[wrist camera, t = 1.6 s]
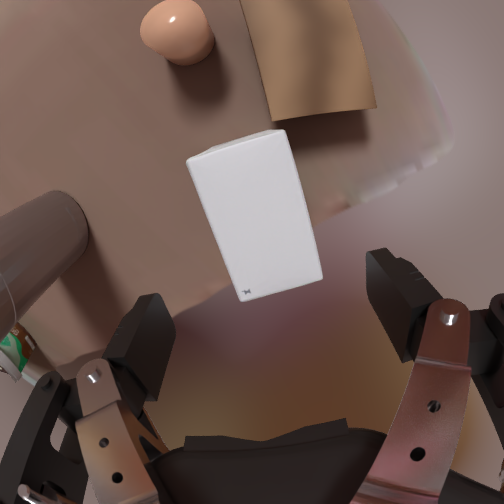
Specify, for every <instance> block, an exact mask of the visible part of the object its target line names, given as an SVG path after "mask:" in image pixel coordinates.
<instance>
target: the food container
mask: <svg viewBox="0 0 504 504" xmlns="http://www.w3.org/2000/svg"><path fill="white" fill-rule="evenodd" d="M35 347H36V343H35V341H34V339H33V338H32V337H31V335H30V334H29V333H28V332H27V330H26V329H25V328H24V327H23V326H22V325H20V324H19V323H18V322H17V323H16V324H15V326H14V327H13V328H12V330H11V331H10V332H9V333H8V334H7V336H6V337H5V338H4V339H3V341H2V342H1V343H0V371H1V372H5V373H7V374H9V375H10V376H11V377H12V379H13V380H14V381H15V383H16V382H17V380H19V379H20V378H21V377H22V374H21V372H22V370H23V368H24V366H25V364H26V363H27V361H28V359H29V357H30V355H31V354H32V352H33V350H34V348H35Z"/></svg>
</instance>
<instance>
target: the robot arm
mask: <svg viewBox="0 0 504 504" xmlns="http://www.w3.org/2000/svg"><path fill="white" fill-rule="evenodd" d="M87 243H88V227H87V223H86V219H85V216H84V214H83V212H82V210H81V208H80V207H79V205H78V204H77V203H76V202H75V201H74V200H73V198H71V197H70V196H69V195H67V194H65V193H63V192H60V191H51V192H48V193H46V194H44V195H42V196H39V197H37V198H35V199H33V200H31V201H29V202H27V203H25V204H23V205H21V206H19V207H18V208H16V209H14V210H12V211H10V212H8V213H7V214H5V215H3V216H1V217H0V343H1V342H2V341H3V339H4V338H5V337H6V336H7V334H8V333H9V332H10V331H11V330H12V328H13V327H14V326H15V324H16V323H17V322H18V321H19V320H20V319H21V317H22V316H23V315H24V314H25V313H26V312H27V311H28V309H29V308H30V307H31V306H32V305H33V304H34V303H35V302H36V301H37V300H38V298H39V297H40V296H41V295H42V294H43V293H44V292H45V291H46V290H47V289H48V288H49V287H50V286H51V285H52V284H53V283H54V282H55V281H56V280H57V279H58V278H59V277H60V276H61V275H62V274H63V273H64V272H65V271H66V270H67V269H68V268H69V267H70V266H71V265H72V264H73V263H74V262H75V261H76V260H77V259H78V258H79V257H80V256H81V255H82V254H83V253H84V251H85V249H86V247H87ZM366 289H367V295H368V299H369V301H370V303H371V305H372V307H373V309H374V311H375V312H376V314H377V316H378V318H379V320H380V321H381V323H382V325H383V327H384V329H385V331H386V333H387V334H388V336H389V338H390V340H391V342H392V344H393V346H394V348H395V350H396V352H397V354H398V356H399V358H400V360H401V362H402V363H404V362H407V361H410V360H413V361H414V366H413V369H412V372H411V375H410V378H409V381H408V385H407V387H406V390H405V393H404V395H403V398H402V401H401V404H400V406H399V409H398V411H397V414H396V416H395V419H394V421H393V423H392V426H391V428H390V430H389V432H388V435H387V434H385V433H382V432H378V431H375V430H371V429H365V428H348V426H347V422H346V418H343V419H339V420H335V421H330V422H326V423H321V424H316V425H311V426H306V427H303V428H300V429H298V430H295V431H292V432H290V433H287V434H284V435H282V436H279V437H276V438H273V439H270V440H267V441H261V442H260V441H252V440H245V439H239V438H232V437H227V436H186V437H185V443H184V447H180V448H177V449H173V450H171V451H170V450H169V449H168V448H167V446H166V445H165V443H164V442H163V440H162V438H161V436H160V435H159V433H158V431H157V429H156V428H155V426H154V424H153V422H152V420H151V418H150V416H149V415H148V412H147V411H146V410H145V408H144V407H143V405H144V402H145V401H157V399H158V395H159V392H160V388H161V385H162V381H163V378H164V374H165V371H166V367H167V364H168V361H169V357H170V354H171V351H172V348H173V344H174V341H175V338H176V329H175V325H174V322H173V320H172V318H171V316H170V314H169V312H168V310H167V308H166V305H165V303H164V301H163V299H162V297H161V295H160V294H158V293H154V294H148V295H142V296H140V297H139V298H138V300H137V302H136V303H135V305H134V307H133V309H131V310H130V311H129V312H128V313H127V314H126V315H125V316H124V317H123V319H122V320H121V322H120V324H119V326H118V328H117V329H116V331H115V333H114V335H113V337H112V339H111V340H110V342H109V344H108V346H107V348H106V350H105V352H104V354H103V356H102V358H101V359H95V360H92V361H90V362H88V363H87V364H85V365H84V366H83V367H82V368H81V369H80V371H79V373H78V375H77V378H74V379H70V380H66V381H65V380H64V379H63V378H62V376H61V375H60V374H59V373H58V372H56V371H51V372H48V373H46V374H45V375H43V376H42V377H41V378H40V379H39V380H38V382H37V383H36V385H35V387H34V389H33V391H32V393H31V395H30V397H29V399H28V401H27V403H26V405H25V407H24V409H23V411H22V413H21V415H20V417H19V419H18V422H17V424H16V426H15V428H14V431H13V433H12V435H11V438H10V440H9V442H8V445H7V447H6V450H5V452H4V455H3V458H2V460H1V463H0V504H83V499H84V495H85V490H86V485H87V481H88V477H89V478H90V481H91V484H92V487H93V490H94V492H95V495H96V498H97V500H98V503H99V504H504V459H503V462H502V466H501V472H500V473H499V480H500V482H502V484H501V489H500V491H497V490H495V489H492V488H490V487H488V486H485V485H483V484H481V483H478V482H476V481H474V480H472V479H470V478H468V477H465V476H463V475H462V474H459V473H457V472H455V471H453V470H451V469H450V465H451V462H452V459H453V456H454V453H455V450H456V446H457V443H458V439H459V435H460V431H461V427H462V423H463V419H464V414H465V409H466V404H467V398H468V393H469V386H470V380H471V377H472V379H473V381H474V383H475V385H476V387H477V389H478V391H479V393H480V395H481V397H482V399H483V401H484V404H485V405H486V408H487V410H488V412H489V415H490V417H491V419H492V422H493V424H494V426H495V429H496V431H497V434H498V436H499V438H500V441H501V444H502V447H503V449H504V293H502V294H497V295H495V296H494V297H493V298H492V299H491V302H490V305H489V309H483V310H473V311H469V309H468V308H467V306H466V305H465V304H463V303H462V302H460V301H458V300H455V299H450V298H443V297H442V296H441V295H440V294H439V293H438V292H437V290H436V289H435V288H434V287H433V286H432V285H431V284H430V282H429V281H428V280H427V279H426V278H424V276H423V275H422V274H421V273H420V272H419V271H418V269H417V268H416V267H415V266H414V265H413V264H412V263H411V262H409V261H407V260H405V259H403V258H401V257H400V258H395V257H394V256H393V255H392V254H391V252H390V251H389V250H388V249H387V248H381V249H377V250H373V251H368V252H367V253H366ZM57 418H59V419H60V420H61V421H62V422H63V423H64V424H65V425H66V426H67V430H66V433H65V436H64V438H63V441H62V444H61V447H60V450H59V452H58V451H57V450H55V449H54V448H53V447H52V445H51V442H50V435H51V433H52V430H53V428H54V425H55V422H56V420H57Z"/></svg>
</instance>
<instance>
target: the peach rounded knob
mask: <svg viewBox="0 0 504 504" xmlns="http://www.w3.org/2000/svg"><path fill="white" fill-rule="evenodd" d="M140 34H141V38H142V40H143V42H144V43H145V44H146V45H147V46H148V47H150V48H151V49H153V50H154V51H156V52H157V53H159V54H160V55H162V56H163V57H165V58H166V59H168V60H169V61H171V62H172V63H174V64H177V65H183V66H184V65H192V64H195V63H198V62H200V61H201V60H203V59H204V58H206V57H207V56H208V54H209V53H210V52H211V50H212V48H213V46H214V35H213V32H212V30H211V28H210V26H209V24H208V22H207V20H206V17H205V15H204V13H203V11H202V9H201V8H200V6H199V5H198V4H196V3H195V2H193V1H191V0H166V1H163V2H161V3H159V4H158V5H156V6H155V7H153V8H152V9H151V10H150V11H149V12H148V13H147V14H146V16H145V17H144V19H143V21H142V24H141V28H140Z"/></svg>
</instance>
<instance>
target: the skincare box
mask: <svg viewBox="0 0 504 504" xmlns="http://www.w3.org/2000/svg"><path fill="white" fill-rule="evenodd" d="M186 165H187V167H188V169H189V172H190V174H191V177H192V179H193V182H194V185H195V187H196V190H197V192H198V195H199V198H200V200H201V203H202V206H203V208H204V211H205V213H206V216H207V218H208V221H209V224H210V226H211V229H212V231H213V234H214V236H215V239H216V241H217V244H218V247H219V249H220V252H221V254H222V257H223V259H224V262H225V264H226V267H227V269H228V272H229V275H230V277H231V280H232V282H233V285H234V287H235V290H236V292H237V295H238V297H239V300H240V301H241V302H244V301H249V300H253V299H256V298H260V297H264V296H267V295H271V294H274V293H278V292H282V291H285V290H289V289H292V288H296V287H300V286H303V285H306V284H309V283H313V282H315V281H319V280H321V279H322V278H323V275H322V269H321V264H320V260H319V255H318V250H317V246H316V242H315V238H314V233H313V229H312V225H311V221H310V217H309V213H308V209H307V205H306V201H305V197H304V194H303V190H302V186H301V183H300V179H299V175H298V172H297V168H296V165H295V161H294V158H293V154H292V151H291V148H290V144H289V141H288V138H287V135H286V132H285V130H266V131H262V132H259V133H255V134H252V135H249V136H246V137H243V138H239V139H236V140H233V141H230V142H227V143H224V144H220V145H217V146H214V147H211V148H210V149H208V150H206V151H204V152H202V153H201V154H198V155H196V156H194V157H191V158H189V159H188V160H187V161H186Z"/></svg>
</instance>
